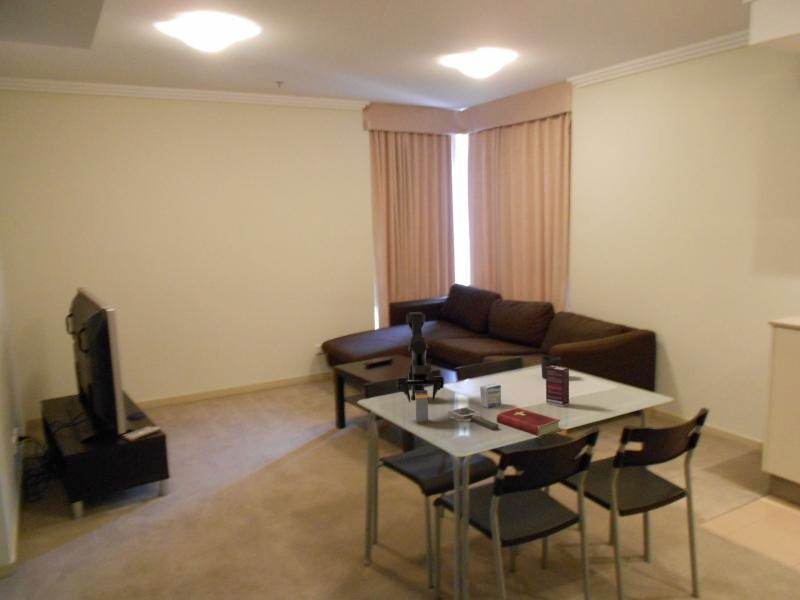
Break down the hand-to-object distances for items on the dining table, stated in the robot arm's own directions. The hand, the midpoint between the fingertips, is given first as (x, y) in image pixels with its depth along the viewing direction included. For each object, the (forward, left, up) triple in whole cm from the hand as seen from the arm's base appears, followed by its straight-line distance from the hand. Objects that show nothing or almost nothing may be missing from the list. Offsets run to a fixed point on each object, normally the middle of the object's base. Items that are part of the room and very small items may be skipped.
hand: (421, 401), depth 238 cm
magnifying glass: (0, +21, -8) cm, 22 cm away
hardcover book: (+7, +40, -9) cm, 42 cm away
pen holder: (-64, +63, -8) cm, 90 cm away
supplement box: (-20, +57, -8) cm, 61 cm away
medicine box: (-20, +29, -8) cm, 36 cm away
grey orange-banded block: (0, 0, -8) cm, 8 cm away
